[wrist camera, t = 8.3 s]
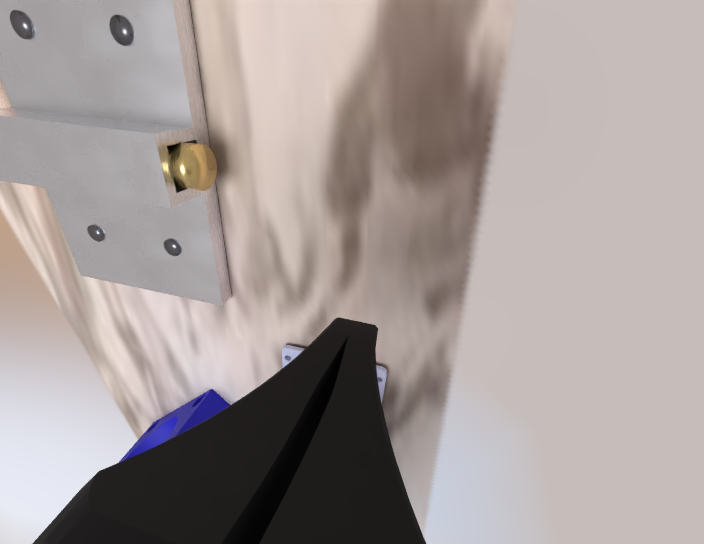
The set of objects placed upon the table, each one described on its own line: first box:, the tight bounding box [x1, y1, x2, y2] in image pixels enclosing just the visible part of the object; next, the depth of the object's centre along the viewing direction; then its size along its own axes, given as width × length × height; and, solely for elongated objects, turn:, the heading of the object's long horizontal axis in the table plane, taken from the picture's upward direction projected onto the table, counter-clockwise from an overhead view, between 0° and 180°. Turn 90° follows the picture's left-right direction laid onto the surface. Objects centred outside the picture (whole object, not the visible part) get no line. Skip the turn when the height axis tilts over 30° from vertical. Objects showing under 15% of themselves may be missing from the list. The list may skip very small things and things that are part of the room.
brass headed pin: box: [167, 142, 217, 191], centre depth 18 cm, size 13×2×2 cm, turn 86°
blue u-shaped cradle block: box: [120, 389, 230, 462], centre depth 31 cm, size 12×4×6 cm, turn 131°
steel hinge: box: [0, 0, 232, 306], centre depth 18 cm, size 12×20×4 cm, turn 176°
